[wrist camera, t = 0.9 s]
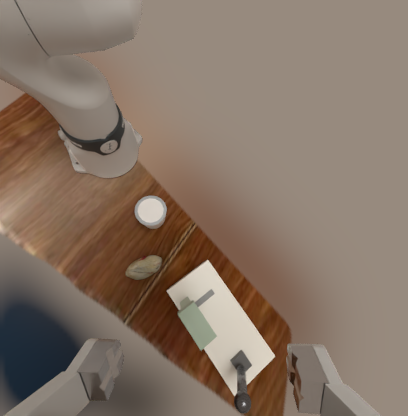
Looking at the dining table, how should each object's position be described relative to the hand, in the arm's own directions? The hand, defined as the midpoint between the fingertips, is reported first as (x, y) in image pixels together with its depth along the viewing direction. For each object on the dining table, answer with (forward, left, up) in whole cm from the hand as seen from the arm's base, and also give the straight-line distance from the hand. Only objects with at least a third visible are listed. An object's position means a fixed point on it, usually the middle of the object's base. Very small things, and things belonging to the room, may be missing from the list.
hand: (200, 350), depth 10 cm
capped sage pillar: (+5, -1, -36) cm, 37 cm away
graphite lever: (+19, +1, -35) cm, 40 cm away
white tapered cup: (-17, +4, -41) cm, 45 cm away
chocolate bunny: (-8, -4, -41) cm, 42 cm away
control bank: (+11, +3, -41) cm, 42 cm away
